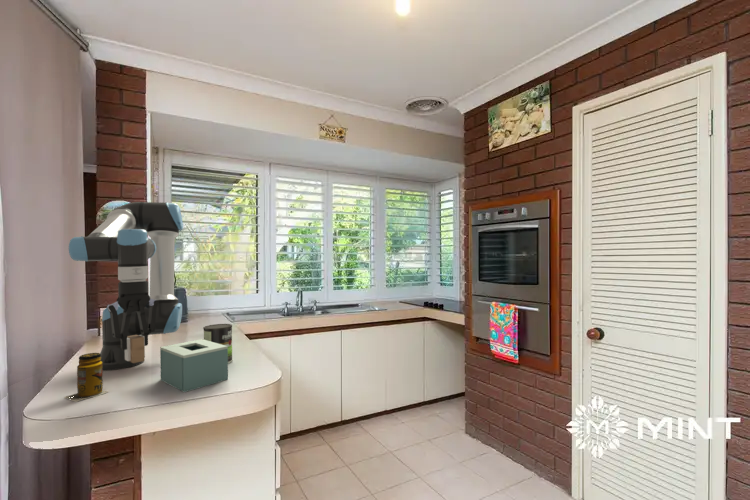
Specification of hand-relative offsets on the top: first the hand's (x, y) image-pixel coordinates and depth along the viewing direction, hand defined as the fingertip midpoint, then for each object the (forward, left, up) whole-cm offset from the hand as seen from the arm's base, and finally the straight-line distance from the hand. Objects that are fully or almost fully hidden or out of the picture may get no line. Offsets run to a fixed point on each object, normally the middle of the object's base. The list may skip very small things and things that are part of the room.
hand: (134, 358), depth 109 cm
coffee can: (-11, +32, -11) cm, 35 cm away
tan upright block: (0, 0, -1) cm, 1 cm away
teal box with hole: (+2, +17, -11) cm, 20 cm away
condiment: (-11, -9, -11) cm, 18 cm away
